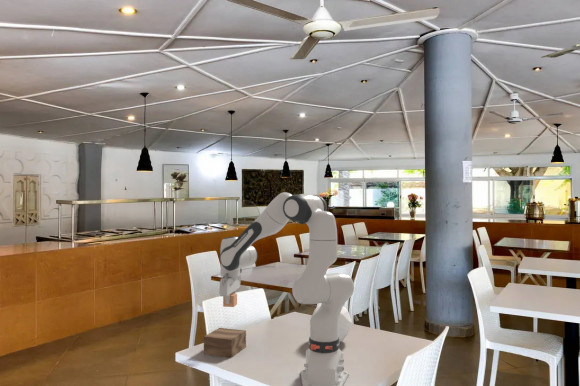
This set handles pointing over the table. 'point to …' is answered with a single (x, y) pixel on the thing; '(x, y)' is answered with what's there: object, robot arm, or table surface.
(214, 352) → the walnut box
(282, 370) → the table surface
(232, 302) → the cube
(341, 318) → the polyhedron
